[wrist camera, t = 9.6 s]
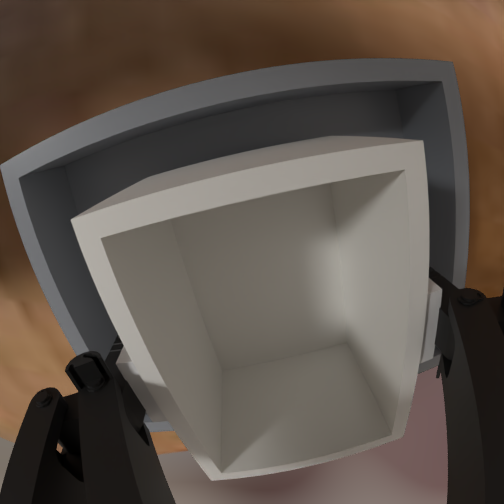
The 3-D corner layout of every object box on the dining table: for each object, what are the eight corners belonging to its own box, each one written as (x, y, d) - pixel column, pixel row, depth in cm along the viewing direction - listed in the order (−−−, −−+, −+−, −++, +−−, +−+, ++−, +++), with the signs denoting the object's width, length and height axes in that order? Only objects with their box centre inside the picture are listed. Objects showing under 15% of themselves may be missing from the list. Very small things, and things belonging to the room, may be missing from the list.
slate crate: (55, 153, 15) (-1, 165, 10) (397, 75, 15) (452, 61, 10) (145, 377, 21) (130, 432, 16) (414, 316, 21) (451, 359, 16)
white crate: (148, 176, 12) (70, 219, 6) (331, 135, 12) (422, 140, 6) (214, 373, 16) (211, 480, 10) (353, 341, 16) (403, 436, 10)
